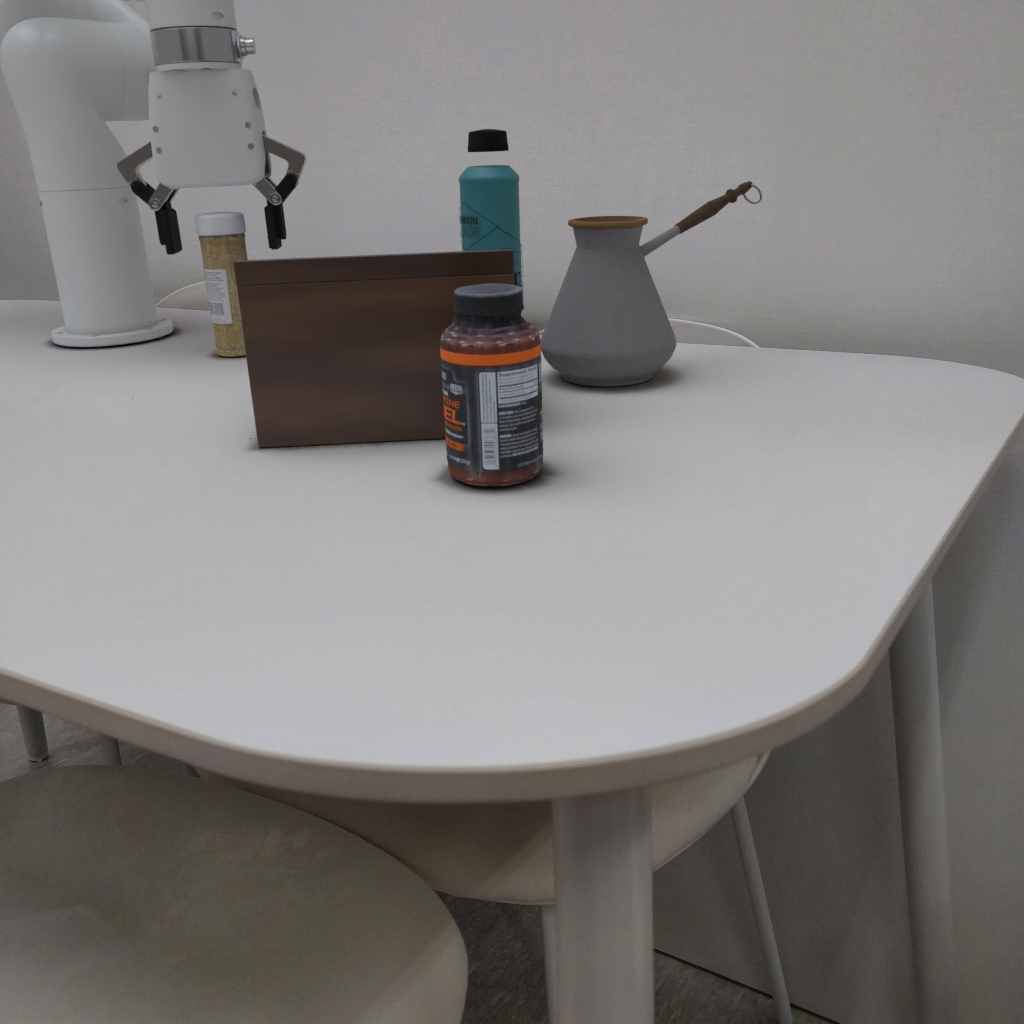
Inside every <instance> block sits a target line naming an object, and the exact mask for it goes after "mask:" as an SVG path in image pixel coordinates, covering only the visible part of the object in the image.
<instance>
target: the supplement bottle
mask: <svg viewBox="0 0 1024 1024" xmlns="http://www.w3.org/2000/svg"><path fill="white" fill-rule="evenodd" d="M523 297H524V290H523V289H522V288H521V287H519V286H515V285H511V284H478V285H471V286H464V287H460V288H457V289H456V290H455V291H454V308H453V310H454V312H455V317H454V320H453V323H452V325H451V326H449V327H448V328H446V329H445V330H444V331H443V333H442V335H441V338H440V354H441V372H442V388H443V404H444V421H445V438H444V439H445V450H446V452H445V453H446V461H447V470H448V472H449V474H450V476H452V478H454V479H455V480H457V481H459V482H461V483H463V484H465V485H469V486H475V487H484V488H489V487H496V488H497V487H499V488H500V487H509V486H514V485H519V484H523V483H526V482H529V481H531V480H533V479H534V478H536V476H537V475H538V474H540V473H541V472H542V470H543V465H544V426H543V425H544V424H543V423H544V421H543V380H542V377H543V376H542V352H541V342H540V340H541V336H540V333H539V330H538V329H537V327H536V326H535V325H533V323H530V322H529V321H527V320H526V319H525V318H524V317H523V316H522V311H523V310H525V304H524V302H523V301H524V298H523Z"/></svg>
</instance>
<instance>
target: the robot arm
mask: <svg viewBox="0 0 1024 1024" xmlns="http://www.w3.org/2000/svg"><path fill="white" fill-rule="evenodd" d="M124 1H125V2H134V3H143V4H145V10H146V11H145V12H146V17H147V21H146V20H145V19H144V18H143V17H142V16H140V14H138V13H137V12H136V11H134V10H133V9H132V8H131V7H129V5H128V4H126V3H125V2H124ZM234 2H235V1H234V0H0V68H1V72H2V77H3V80H4V83H5V86H6V88H7V91H8V94H9V96H10V98H11V101H12V103H13V106H14V109H15V111H16V113H17V117H18V120H19V122H20V125H21V128H22V131H23V134H24V137H25V141H26V144H27V149H28V152H29V156H30V161H31V166H32V170H33V174H34V180H35V184H36V190H37V192H38V198H39V203H40V208H41V213H42V218H43V223H44V228H45V232H46V237H47V243H48V248H49V252H50V256H51V257H50V258H51V261H52V266H53V267H52V268H53V271H54V277H55V281H56V286H57V287H56V288H57V292H58V297H59V301H60V306H61V311H62V317H63V321H64V325H62V326H59V327H56V328H55V329H53V330H52V331H51V333H50V335H51V340H52V343H54V344H55V345H58V346H62V347H70V348H71V347H73V348H74V347H75V348H94V347H109V346H119V345H120V346H121V345H129V344H135V343H140V342H146V341H151V340H155V339H159V338H162V337H165V336H168V335H170V334H172V333H173V331H174V322H173V320H172V319H170V318H168V317H164V316H158V315H157V309H156V304H155V303H156V302H155V295H154V291H153V285H152V279H151V273H150V267H149V261H148V255H147V248H146V243H145V237H144V231H143V226H142V225H143V224H142V218H141V212H140V208H139V202H138V198H139V199H140V200H141V201H143V203H145V204H147V205H148V207H149V209H150V210H151V211H153V212H154V216H155V222H156V228H157V233H158V234H157V235H158V240H159V244H160V245H161V246H164V247H165V251H166V254H167V255H169V256H170V255H176V254H178V253H180V252H181V251H183V244H182V238H181V232H180V224H179V218H178V212H177V210H176V209H175V208H172V207H173V206H172V202H173V200H174V199H175V198H176V196H177V194H178V193H179V190H180V189H194V188H217V187H237V186H239V187H240V186H249V185H250V186H251V185H252V186H253V187H254V188H255V189H256V190H257V191H258V192H259V193H260V194H261V195H262V196H263V197H264V198H265V199H266V200H265V201H266V205H265V206H264V208H263V209H264V218H265V219H264V220H265V226H266V234H267V243H268V248H269V249H271V250H272V251H273V250H275V251H276V250H279V249H280V248H282V246H283V241H282V240H287V227H286V220H285V211H284V203H285V202H286V201H287V199H288V198H289V196H290V195H291V194H292V193H293V191H294V190H295V189H296V188H297V187H298V185H299V183H300V179H301V176H302V175H303V171H304V169H305V166H306V163H307V161H308V156H307V154H306V153H304V152H302V151H300V150H298V149H296V148H294V147H292V146H289V145H288V144H285V143H283V142H281V141H278V140H277V139H276V138H272V137H271V136H269V135H268V133H267V127H266V121H265V117H264V112H263V107H262V103H261V98H260V94H259V91H258V86H257V83H256V80H255V77H254V74H253V71H252V70H251V69H246V68H243V65H244V60H245V57H249V56H250V55H251V56H252V55H257V46H256V40H255V38H254V37H246V36H242V35H241V34H240V32H239V31H238V26H237V18H236V11H235V10H236V9H235V3H234ZM143 121H145V122H146V121H148V124H149V135H150V140H149V141H148V142H146V143H145V144H144V145H142V146H140V147H138V148H137V149H136V150H134V151H133V152H131V153H130V154H128V155H127V153H126V151H125V150H124V148H123V145H122V144H121V143H120V142H119V140H118V139H117V137H116V136H115V135H114V132H112V130H111V129H110V127H109V126H108V125H107V122H143ZM271 154H272V155H273V156H275V157H278V158H280V159H282V160H284V161H286V162H287V165H288V167H287V170H286V172H285V176H284V177H283V178H282V179H281V180H280V181H279V183H278V184H276V182H275V181H273V179H272V178H271V176H272V173H273V164H272V155H271ZM150 161H152V162H153V168H154V172H155V176H156V178H157V179H156V180H157V181H158V183H159V184H158V185H157V187H156V188H154V187H153V186H152V185H150V184H149V183H148V182H147V181H145V179H144V178H143V176H142V174H141V172H140V169H141V167H143V166H144V165H146V164H147V163H149V162H150Z"/></svg>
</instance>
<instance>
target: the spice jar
mask: <svg viewBox="0 0 1024 1024" xmlns="http://www.w3.org/2000/svg"><path fill="white" fill-rule="evenodd" d="M194 224H195V233H196V235H197V236H198V241H199V243H200V245H199V246H200V252H201V258H202V259H201V260H202V265H203V275H204V276H203V277H204V282H205V283H204V284H205V290H206V296H207V301H208V309H209V315H210V321H211V324H212V331H213V334H214V336H213V337H214V343H215V348H214V352H215V354H216V355H218V356H220V357H229V358H230V357H231V358H234V357H235V358H236V357H246V352H245V345H244V337H243V330H242V322H241V315H240V308H239V300H238V293H237V285H236V279H235V271H234V264H233V262H234V261H239V260H249V259H248V251H247V245H246V243H247V242H246V234H245V233H246V232H247V228H246V221H245V215H244V213H243V212H240V211H213V212H205V213H204V212H203V213H199V214H196V215H195V216H194Z"/></svg>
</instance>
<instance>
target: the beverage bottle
mask: <svg viewBox="0 0 1024 1024" xmlns="http://www.w3.org/2000/svg"><path fill="white" fill-rule="evenodd" d="M467 136H468V138H467V153H491V152H492V153H493V152H509V142H508V133H507V130H503V129H496V128H483V129H477V130H472V131H469V132H468V135H467ZM458 183H459V202H460V203H459V204H460V207H459V210H458V211H459V215H458V217H459V219H458V220H459V221H458V222H459V225H460V230H459V237H461V251H478V250H502V249H513V255H514V285H515V286H519V287H521V288H522V290H524V282H523V277H524V275H523V270H522V268H524V265H523V264H524V263H522V261H523V260H524V259H523V258H524V257H523V256H522V255H523V252H522V251H523V245H522V243H521V220H520V219H521V218H520V217H521V216H520V214H521V213H520V175H519V173H517V171H516V170H514V168H513V167H511V166H510V165H509V164H492V165H491V164H488V165H487V164H486V165H485V164H484V165H470V166H467V167H466V168H465V169H464V170H463V171H462V173H460V175H459V177H458ZM523 299H524V296H523ZM524 302H525V301H524V300H523V303H524Z"/></svg>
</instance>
